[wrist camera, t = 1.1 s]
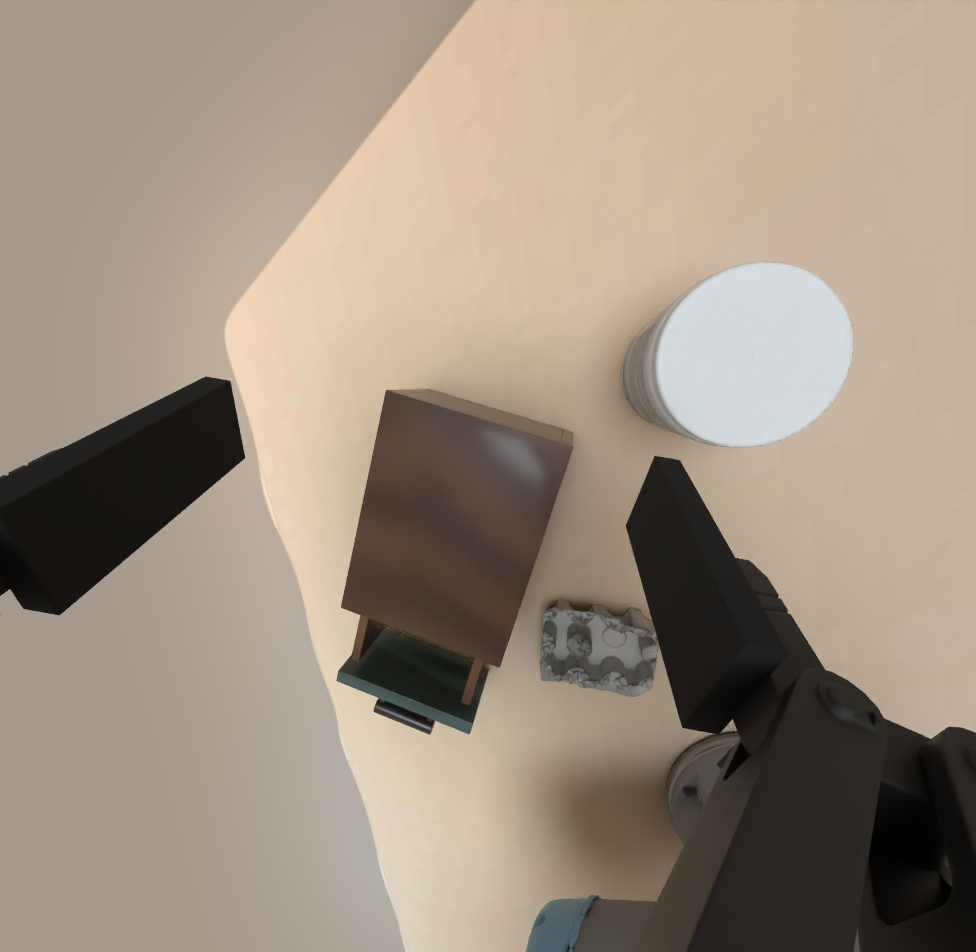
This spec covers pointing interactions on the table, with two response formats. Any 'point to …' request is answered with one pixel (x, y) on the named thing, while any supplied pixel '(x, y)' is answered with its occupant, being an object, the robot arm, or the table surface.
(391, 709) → the drawer
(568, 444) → the cabinet
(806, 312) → the supplement tub
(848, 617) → the table surface
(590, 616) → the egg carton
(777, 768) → the robot arm
